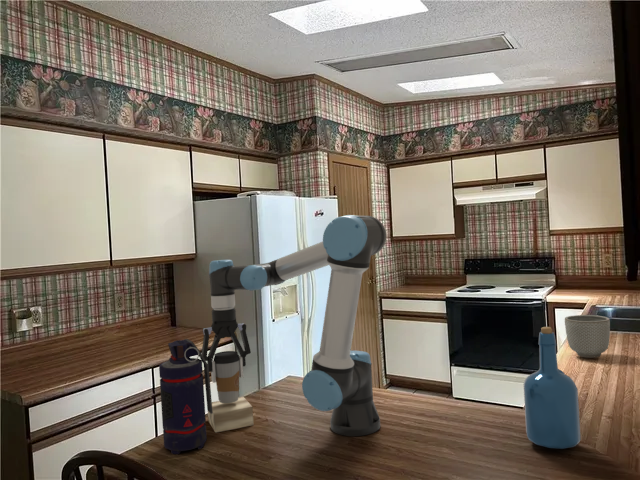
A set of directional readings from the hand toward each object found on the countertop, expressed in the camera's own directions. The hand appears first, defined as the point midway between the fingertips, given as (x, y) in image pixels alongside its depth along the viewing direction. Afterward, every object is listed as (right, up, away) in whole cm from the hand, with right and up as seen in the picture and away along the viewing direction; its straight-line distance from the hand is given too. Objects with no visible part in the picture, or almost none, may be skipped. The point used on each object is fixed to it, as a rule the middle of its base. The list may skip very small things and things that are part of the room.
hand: (227, 379), depth 164 cm
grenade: (-8, -15, -17) cm, 24 cm away
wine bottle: (+91, -9, -28) cm, 96 cm away
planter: (+145, -5, +56) cm, 156 cm away
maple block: (+1, -14, 0) cm, 14 cm away
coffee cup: (0, -7, 0) cm, 7 cm away
